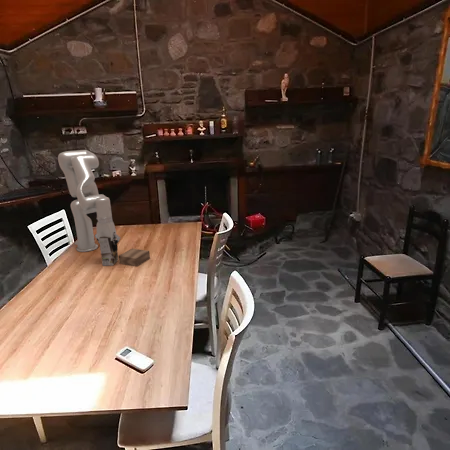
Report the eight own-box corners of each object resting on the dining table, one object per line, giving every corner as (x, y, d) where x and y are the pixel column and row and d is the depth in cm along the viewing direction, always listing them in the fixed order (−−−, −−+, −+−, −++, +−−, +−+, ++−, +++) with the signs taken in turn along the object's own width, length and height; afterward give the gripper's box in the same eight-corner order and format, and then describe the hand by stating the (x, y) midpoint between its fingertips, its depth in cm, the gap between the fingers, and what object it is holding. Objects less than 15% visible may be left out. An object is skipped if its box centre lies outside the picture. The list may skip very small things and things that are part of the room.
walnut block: (119, 264, 196) (118, 255, 194) (133, 256, 206) (132, 248, 205) (137, 267, 191) (136, 258, 190) (150, 259, 202) (149, 251, 200)
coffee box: (113, 265, 193) (110, 238, 188) (102, 265, 193) (98, 238, 188) (118, 259, 202) (115, 232, 197) (107, 259, 202) (104, 232, 197)
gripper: (87, 220, 190) (91, 250, 195) (113, 223, 184) (117, 254, 189) (96, 216, 197) (101, 246, 202) (122, 219, 190) (126, 249, 196)
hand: (109, 249), depth 195 cm, fingers closed on coffee box, 8 cm apart
